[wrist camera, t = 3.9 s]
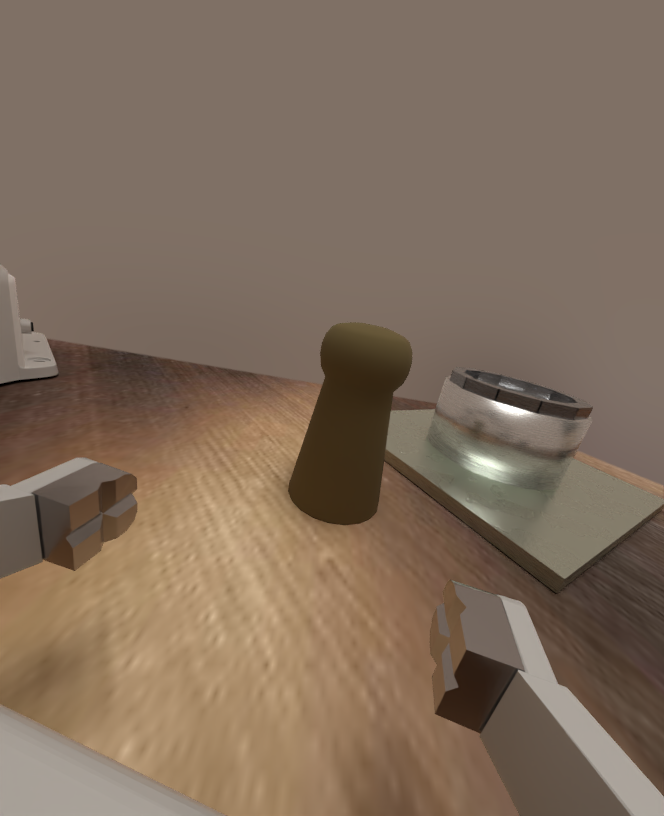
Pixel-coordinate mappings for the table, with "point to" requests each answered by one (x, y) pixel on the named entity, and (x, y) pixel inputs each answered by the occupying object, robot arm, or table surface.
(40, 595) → the table surface
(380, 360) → the cork
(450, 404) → the duct stub
